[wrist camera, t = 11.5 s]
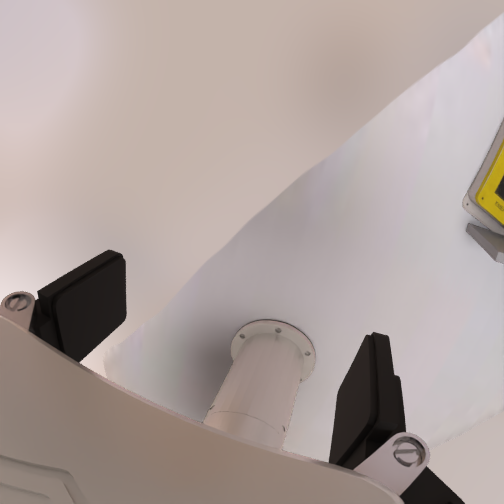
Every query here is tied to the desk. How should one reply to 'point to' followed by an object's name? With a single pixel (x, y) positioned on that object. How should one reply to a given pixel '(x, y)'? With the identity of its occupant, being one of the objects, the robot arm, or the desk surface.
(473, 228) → the frame
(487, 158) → the emergency button
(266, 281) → the desk surface
